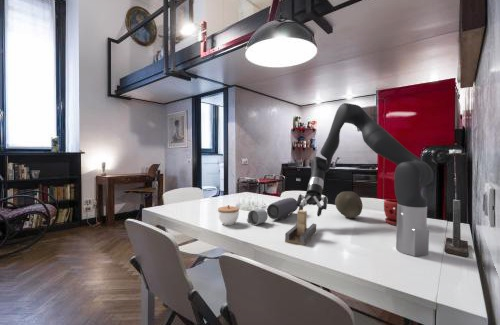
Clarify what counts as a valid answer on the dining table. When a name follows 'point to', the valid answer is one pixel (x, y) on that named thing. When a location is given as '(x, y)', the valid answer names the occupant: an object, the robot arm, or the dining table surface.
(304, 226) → the light brown wooden block
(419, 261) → the dining table surface
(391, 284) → the dining table surface
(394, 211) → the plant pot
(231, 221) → the lidded jar
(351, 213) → the cantaloupe
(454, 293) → the dining table surface
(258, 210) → the ceramic mug
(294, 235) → the door track
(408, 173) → the robot arm
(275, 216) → the bluetooth speaker
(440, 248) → the dining table surface
